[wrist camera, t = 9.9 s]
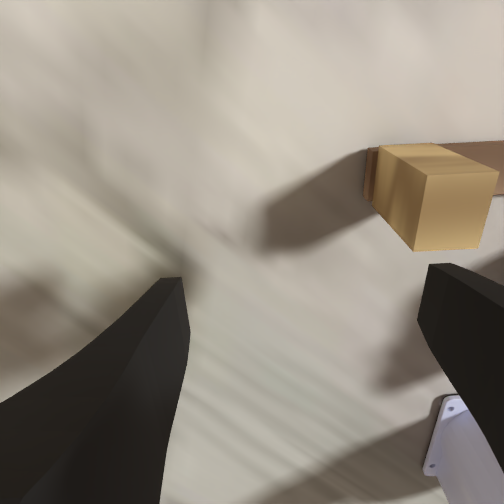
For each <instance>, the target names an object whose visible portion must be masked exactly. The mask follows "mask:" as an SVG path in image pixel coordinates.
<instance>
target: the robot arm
mask: <svg viewBox="0 0 504 504" xmlns="http://www.w3.org/2000/svg"><path fill="white" fill-rule="evenodd" d="M417 321H418V324H419V326H420V328H421V331H422V333H423V335H424V337H425V339H426V342H427V344H428V346H429V348H430V350H431V352H432V353H433V355H434V357H435V358H436V360H437V361H438V363H439V365H440V366H441V368H442V369H443V371H444V372H445V374H446V376H447V377H448V379H449V380H450V382H451V383H452V385H453V386H454V388H455V390H456V391H457V393H458V394H459V395H455V396H447V397H446V398H444V400H443V402H442V406H441V409H440V412H439V416H438V419H437V422H436V426H435V429H434V433H433V436H432V439H431V443H430V446H429V449H428V453H427V456H426V459H425V463H424V466H423V472H424V474H425V475H426V476H437V478H438V481H439V483H440V485H441V487H442V489H443V491H444V493H445V496H446V498H447V500H448V502H449V504H504V286H502V285H500V284H498V283H496V282H494V281H492V280H489V279H487V278H485V277H483V276H481V275H479V274H476V273H474V272H472V271H470V270H467V269H465V268H463V267H460V266H457V265H455V264H452V263H440V264H429V267H428V272H427V276H426V281H425V286H424V290H423V295H422V300H421V304H420V309H419V313H418V318H417ZM190 333H191V332H190V326H189V320H188V314H187V308H186V302H185V296H184V290H183V284H182V278H181V277H175V278H160V279H159V280H158V281H157V282H156V283H155V284H154V285H153V286H152V287H151V288H150V289H149V290H148V291H147V292H146V293H145V294H144V295H143V296H142V297H141V298H140V299H139V300H138V301H137V302H136V303H135V304H133V305H132V306H131V307H130V308H129V309H128V310H127V311H126V312H125V313H124V314H123V315H122V316H121V317H120V318H119V319H118V320H116V321H115V322H114V323H113V324H112V325H111V326H109V327H108V328H107V329H106V330H105V331H104V332H102V333H101V334H100V335H99V336H98V337H97V338H96V339H94V340H93V341H92V342H91V343H89V344H88V345H87V346H86V347H84V348H83V349H82V350H81V351H79V352H78V353H77V354H75V355H74V356H72V357H71V358H70V359H68V360H67V361H66V362H64V363H63V364H61V365H60V366H59V367H57V368H56V369H54V370H53V371H51V372H50V373H48V374H47V375H45V376H44V377H42V378H40V379H39V380H37V381H36V382H34V383H32V384H31V385H29V386H28V387H26V388H24V389H23V390H21V391H20V392H18V393H17V394H15V395H13V396H12V397H10V398H8V399H7V400H5V401H3V402H2V403H0V504H159V502H160V495H161V487H162V480H163V473H164V466H165V459H166V452H167V447H168V442H169V437H170V433H171V428H172V424H173V420H174V416H175V412H176V408H177V404H178V400H179V395H180V391H181V387H182V383H183V379H184V375H185V370H186V366H187V360H188V352H189V343H190Z"/></svg>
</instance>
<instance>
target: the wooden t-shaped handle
mask: <svg viewBox="0 0 504 504" xmlns="http://www.w3.org/2000/svg"><path fill="white" fill-rule="evenodd" d="M497 194H504V141H485V142H466V143H448V144H434V143H420V144H401V145H383V146H379V147H373V148H368V151H367V161H366V171H365V181H364V190H363V197H364V198H365V199H366V200H367V201H372V206H373V207H374V209H375V210H376V211H377V212H378V213H379V214H380V215H381V216H382V217H383V219H384V220H385V221H386V222H387V223H388V224H389V225H390V226H391V228H392V229H393V230H394V231H395V232H396V233H397V234H398V235H399V236H400V238H401V239H402V240H403V241H404V242H405V243H406V244H407V245H408V246H409V248H410V249H411V250H412V251H413V252H418V251H437V250H456V249H475V248H478V247H479V243H480V239H481V236H482V232H483V229H484V225H485V222H486V218H487V215H488V211H489V208H490V204H491V201H492V197H493V195H497Z"/></svg>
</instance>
